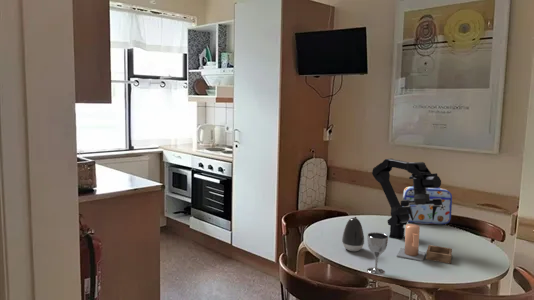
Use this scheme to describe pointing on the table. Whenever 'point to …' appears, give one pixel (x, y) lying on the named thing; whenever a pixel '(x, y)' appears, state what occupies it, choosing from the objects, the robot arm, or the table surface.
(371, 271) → the wine glass
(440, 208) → the lunch box
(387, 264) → the table surface
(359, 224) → the dark grey egg shape
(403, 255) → the mat
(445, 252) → the holder
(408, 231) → the tan dome with tab
